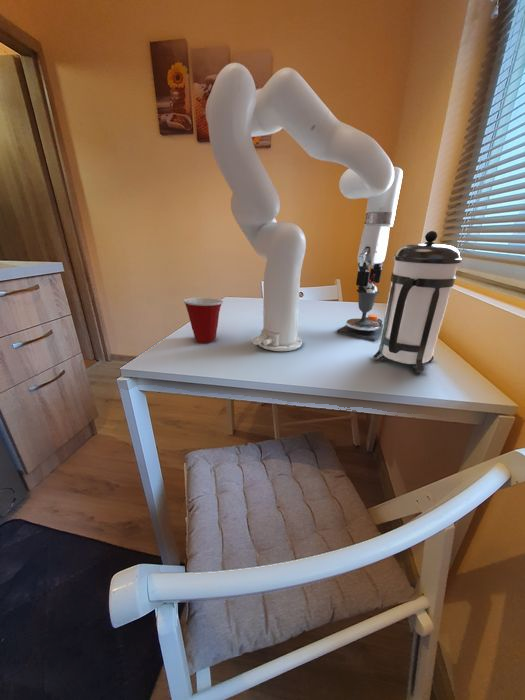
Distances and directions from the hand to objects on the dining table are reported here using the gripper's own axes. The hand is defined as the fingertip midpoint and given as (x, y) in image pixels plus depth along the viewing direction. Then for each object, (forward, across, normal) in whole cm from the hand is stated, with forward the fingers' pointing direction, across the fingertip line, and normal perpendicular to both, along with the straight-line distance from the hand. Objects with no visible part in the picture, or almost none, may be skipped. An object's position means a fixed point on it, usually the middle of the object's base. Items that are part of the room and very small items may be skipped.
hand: (368, 284), depth 83 cm
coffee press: (+16, +14, +17) cm, 27 cm away
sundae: (+12, 0, 0) cm, 12 cm away
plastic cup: (+17, +36, -32) cm, 51 cm away
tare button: (+13, -9, 0) cm, 16 cm away
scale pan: (+13, -1, 0) cm, 13 cm away
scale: (+15, -4, 0) cm, 16 cm away
